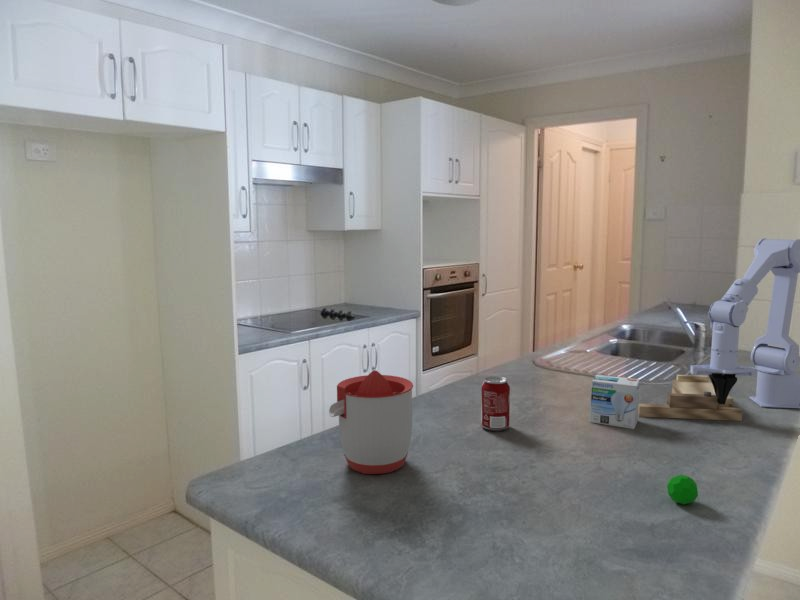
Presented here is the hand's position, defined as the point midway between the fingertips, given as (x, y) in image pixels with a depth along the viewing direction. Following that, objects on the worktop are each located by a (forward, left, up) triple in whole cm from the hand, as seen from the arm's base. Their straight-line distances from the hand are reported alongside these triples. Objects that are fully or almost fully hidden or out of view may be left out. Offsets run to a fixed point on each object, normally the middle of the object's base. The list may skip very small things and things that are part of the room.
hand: (720, 403), depth 146 cm
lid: (+1, -10, -1) cm, 10 cm away
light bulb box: (+26, +6, -4) cm, 27 cm away
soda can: (+55, +14, -4) cm, 57 cm away
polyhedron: (+22, +47, -4) cm, 52 cm away
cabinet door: (+7, 0, -1) cm, 7 cm away
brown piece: (+7, -8, -4) cm, 12 cm away
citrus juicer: (+80, +39, -4) cm, 89 cm away
